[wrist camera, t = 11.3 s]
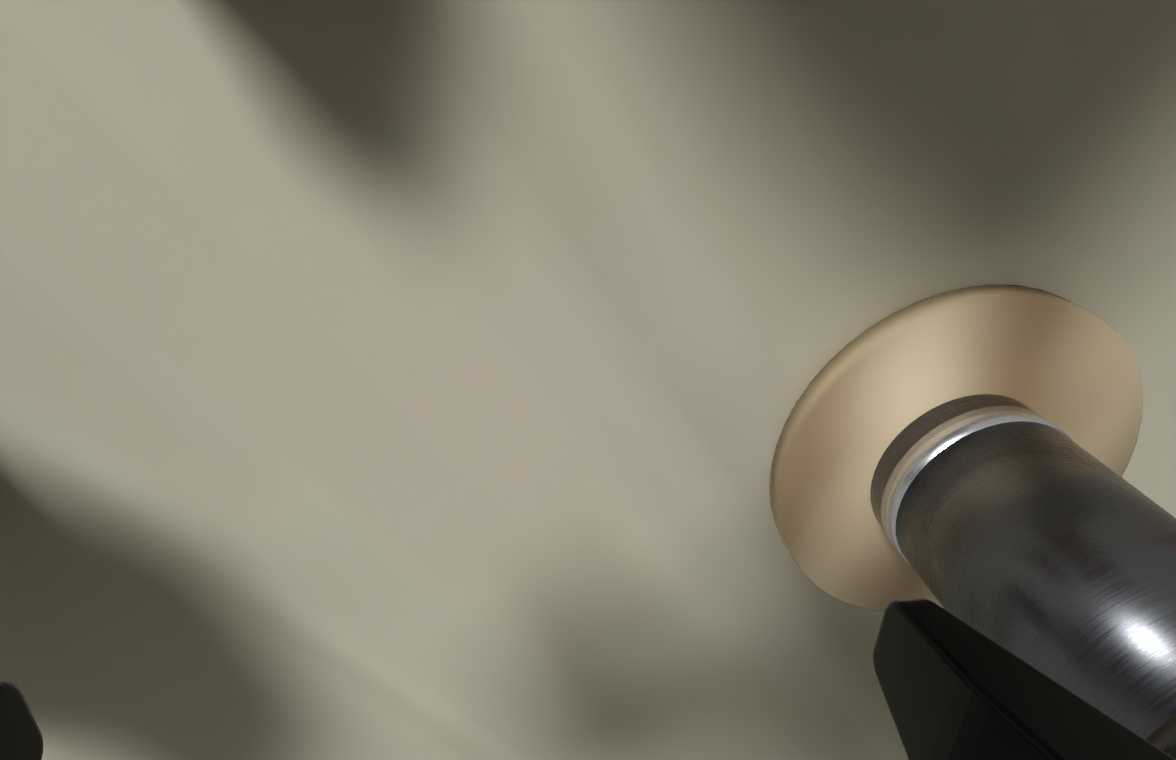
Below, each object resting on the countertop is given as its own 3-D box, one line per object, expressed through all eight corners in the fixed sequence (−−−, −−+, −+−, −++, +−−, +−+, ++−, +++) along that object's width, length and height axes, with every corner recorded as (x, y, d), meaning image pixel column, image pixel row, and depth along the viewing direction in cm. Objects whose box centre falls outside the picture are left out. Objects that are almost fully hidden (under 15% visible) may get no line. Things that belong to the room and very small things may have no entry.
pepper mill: (847, 546, 24) (1135, 975, 14) (901, 389, 22) (1310, 771, 11) (1055, 545, 26) (1462, 935, 15) (1130, 397, 23) (1689, 745, 12)
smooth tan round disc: (748, 605, 26) (758, 626, 26) (799, 291, 21) (814, 304, 20) (1051, 578, 28) (1070, 597, 27) (1174, 278, 22) (1203, 290, 22)
